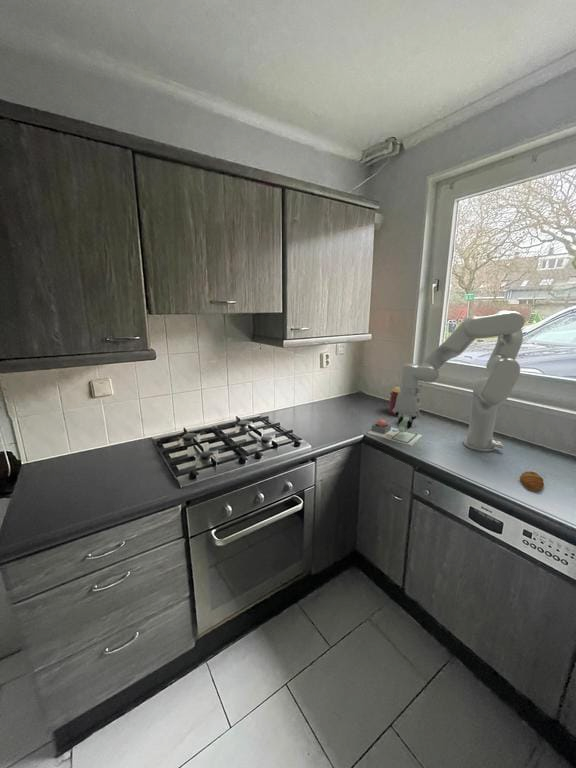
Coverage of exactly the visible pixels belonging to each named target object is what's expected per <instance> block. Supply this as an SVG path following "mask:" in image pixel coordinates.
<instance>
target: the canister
mask: <svg viewBox="0 0 576 768" xmlns="http://www.w3.org/2000/svg"><path fill="white" fill-rule="evenodd" d="M400 388H401V384H400V386H395V387H393V388H392V389H391V392H389V394H390V397H389V406H388V412H389V414H390V415H392V416H395V417H397V415H396V414H395V413H394V412H393V411H392V410H393V408H394V407H395V404H396V399H397V396H398V393H399V391H400Z"/></svg>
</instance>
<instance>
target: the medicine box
mask: <svg viewBox="0 0 576 768" xmlns="http://www.w3.org/2000/svg"><path fill="white" fill-rule="evenodd" d="M416 415H417V414H416ZM416 415H414V416H416ZM402 417H403V418H404V417H409V415H407V414H403V416H402ZM417 425H418V418H416V419H414V420H413V421H412V427H411V428H414V427H417Z"/></svg>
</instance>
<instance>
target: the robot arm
mask: <svg viewBox="0 0 576 768" xmlns="http://www.w3.org/2000/svg"><path fill="white" fill-rule="evenodd" d="M524 325H525V317H524V316H523V314H521V313H520V312H518V311H514V310H513V311H512V310H500V311H498V312H495V314H492V315H485V316H476V315H474V316H469V317H467V318H466V319H464V320H463V321H462V323H460V324H459V326H458V327H457V328H456V329H455V330H454V331H453V332H452V333H451V334H450V335H449V336H448V337H447V339H446V340H445V341H444V342H442V343H441V344H440V345H439V346H438V347H437V348H436V349H434V350H433V351H432V352H431V353H430V354H429V355H428V356H427V357H426V358H425V360H424V361H422V363H421V364H420V365H419V364H417V363H404V364H403V366H402V371H401V382H400V385H401V388H400V391H399V393H398V396H397V399H396V404H395V407H394V408H393V410H392V411H393V412H394V413H395V414H396V415H397V416H396V417H397V418H398V421H397V424H398V425H399V424H400V422H401V421H402V420H403V417H402V416H403V414H407V415H409V421H408V423H407V424H408V425H407V429H408V430H409V429H411V428H413V427H412V421H413V420H414V419H416V418H417V419H420V418H422V414H421V413H420V394H419V393H421V392H422V391H421V389H419V382H424V383H428V384H431V383H435V382H437V381H438V379H439V377H440V373H439V369H440V368H441V367H443V365H445V364H446V363H447V362H448V361H449V360H452V359H453V358H456V357H458V356H460V355H462V354H463V353H464V352H465V351H466V349H467V348H469V346H471V344H472V343H474V341H475V340H477V339H486V338H494V337H497V340H496V343H495V346H494V348H493V350H492V353H491V354H490V357H489V359H488V360H487V363H486V365H485V368H486V371H487V372H488V374H490V375H489V376H487V377H486V376H485V377H481V378H479V379H477V380H476V381H475V383H474V385H473V389H472V405H471V412H470V418H469V424H468V425H469V426H468V431H467V437H466V438H464V439H463V440H462V444H463V445H464V446H465V447H467V448H468V449H471V450H473V451H479V452H483V453H484V452H485V453H486V452H487V453H489V452H493V451H494V450H496V449H495V448H498V449H504V444H503V443H502V442H501V441H496V440H495V436H494V432H495V431H494V430H495V423H496V420H497V414H498V406H500V405H502V404H503V403H505V402H506V401H507V400H508V398H509V396H510V394H511V392H512V390H513V389H514V387H515V385H516V382H517V381H518V380H519V377H520V373H521V366H520V364H519V362H518V361H517V360H516V359H517V357H518V354H519V352H520V349H521V347H522V343H523V342H524V341H523V340H524V336H523V335H524V334H523V330H522V328H523V327H524ZM416 414H417V415H416ZM414 415H416V416H414ZM493 436H494V437H493Z"/></svg>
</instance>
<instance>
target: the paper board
mask: <svg viewBox="0 0 576 768" xmlns="http://www.w3.org/2000/svg"><path fill="white" fill-rule="evenodd" d="M398 429H399V428H395V427H392V424H389V423H386V427H385V428H383V427H379V426H377V422H375V423H373V424H372V425H371V430H369V431H367V433H368V434H367V435H370V436H374V437H378V438H381V439H386V440H387V441H388V440H389V441H392V442H396V443H399V444H402V445H407V446H410V447H413V445H414V444H416V442H418V441H419V440H420V439H421V438H422V437H423V435H422V434H418V433H414V432H411V431H408V430H407V432H403V433H401V432H399V430H398Z"/></svg>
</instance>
